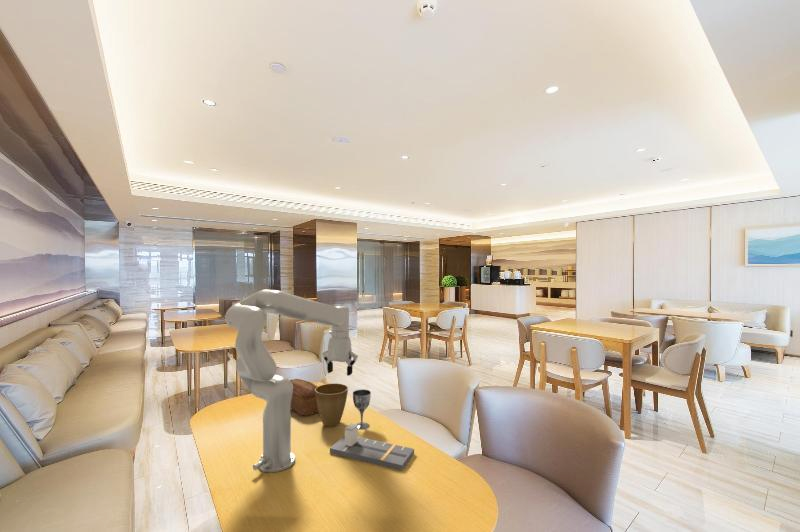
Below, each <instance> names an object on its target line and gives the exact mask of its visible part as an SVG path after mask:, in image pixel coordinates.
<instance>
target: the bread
mask: <svg viewBox="0 0 800 532" xmlns="http://www.w3.org/2000/svg"><path fill="white" fill-rule="evenodd" d="M289 380H290V381H291V382H292V384H293V395H292V401H291V410H293V412H294V411H295V412H296V413H298V414H299V415H301V416H309V415H314V414H317V413H319V410H318V406H317V401H316V395H315V389H316V388H317V387H318V386H319V385H316V384H314V383H313V382H310V381H307V380H304V379H300V378H293V379H289Z"/></svg>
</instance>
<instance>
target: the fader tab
mask: <svg viewBox="0 0 800 532" xmlns="http://www.w3.org/2000/svg"><path fill="white" fill-rule="evenodd" d="M344 436H345V445H347V446H351V447H352V446H353V445H354V444H355V443H356V442H357V441H358V437H359V429H358V424H357V423H353V422H351V423H350V424H348V425H347V426H346V427H345V428H344Z"/></svg>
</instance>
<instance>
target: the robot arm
mask: <svg viewBox="0 0 800 532" xmlns="http://www.w3.org/2000/svg"><path fill="white" fill-rule="evenodd" d="M266 313H268V314H274V315H279V316H283V317H287V318H291V319H296V320H300V321H306V322H315V323H317V324H319V325H324V326H331V330H329V335H330V337H329V339H328V345H327V349H326V350H325V351H323V352H322V353H321V354H322V356H323V359H324V361H325V363H326V365H327V366H326V368H327V369H326V370H327V374H331V373H333V372H334V369H333V368H334V363H333V362H339V363H346V364H347V367H346V376H347V377H348V376H351V375H352V374H353V366H354V365H355V364H356V363H357V360H358V358H359V355H357V354H356V353H354V352H353V351H352V349H353V348H352V341H351V337H350V335H349V334H350V308H349V307H348V306H346V305H336V306H334V305H331V304H328V303H323V302H321V301H320V302H319V301H316V300H313V299H309V298H305V297H302V296H298V295H294V294H292V293H288V292H285V291H282V290H276V289H262V290H259V291H257V292H254V293H253V294H251V295H249V296H247V297H245V298H244V299H242V300H240V301H238V302H236V303H234V304H232V305H231V306H230V307H229V308H228V309H227V310H226V313H225V315H224V320H225V323H226V325H228V326H229V328H231V329H235V330H238V331H237V334H236V339H235V344H234V345H235V351H236V354H237V355H238V358H237V359H236V362H235V370H236V373H237V375H238V377H239V378H240V380H241V381H242V382H243V384H244V385H245V386H246V388H247V389H248V391H249V392H250V393H251V394H252V395H253V396H254V397H256V398H258V399H261V400H264V401H266V405H265V408H264V410H263V414H262V453H263V454H262V453H261V455H260V459H259V461H257V462H256V463H255V464H253V465H252V469H253V470H254V471H257V470H258V469H259V470H260V471H262V472H265V473H277V472H281V471H282V472H283V471H284V470H287V469H289V468H290V467H291V466H292V465H293V464H294V463H295V462H296V455H295V453H293V452H292V451H291V450H292V448H291V446H292V443H291V442H292V441H291V440H292V437H291V434H292V433H291V431H292V430H291V429H292V427H291V422H292V421H291V419H292V418H291V417H292V416H291V410H292V409H291V401H292V395H293V384H292V382H291V381H290V380H291V379H290V378H288V377H286V376H284V375H281V374H277V369H278V368H277V363H276V361H275V359H274V358H273V356H272V355H271V353H270V352H269V350H268V349H267V346H265V343H264V342H263V339H262V337H263V336H262V335H263V332H264V328H265V326H266V325H267V324H266V323H267V315H266Z"/></svg>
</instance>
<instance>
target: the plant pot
mask: <svg viewBox="0 0 800 532" xmlns="http://www.w3.org/2000/svg"><path fill="white" fill-rule="evenodd" d="M317 386H318V387H317V388H316V389H315V395H316V401H317V406H318V410H319V412H318V414H319V417H320V420H321V423H322V425H323V426H324V427H326V428H333V427H337V426H339V424H340V423H341V420H342V417H343V414H344V410H345V407H346V403H347V398H348V391H349V386H348V385H346V384H342V383H325V384H321V385H317Z"/></svg>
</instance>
